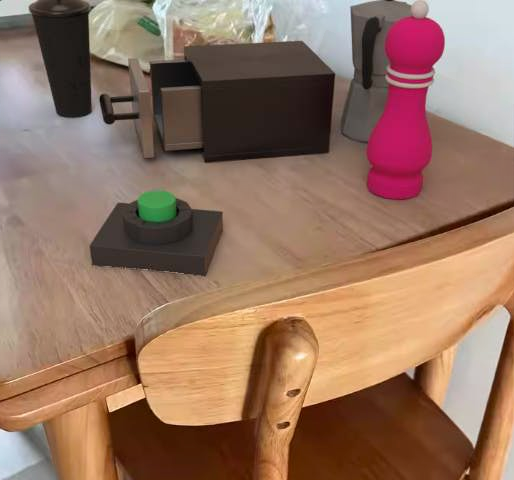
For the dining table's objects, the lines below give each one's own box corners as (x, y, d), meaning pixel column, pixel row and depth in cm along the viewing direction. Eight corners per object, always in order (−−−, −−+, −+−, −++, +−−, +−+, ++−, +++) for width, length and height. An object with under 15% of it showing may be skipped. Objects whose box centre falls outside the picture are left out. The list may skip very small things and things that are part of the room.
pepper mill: (435, 185, 85) (469, -1, 73) (409, 208, 80) (440, 13, 68) (379, 169, 88) (403, -12, 76) (351, 190, 83) (371, 1, 71)
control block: (92, 265, 70) (86, 228, 67) (119, 221, 77) (116, 186, 74) (205, 276, 68) (204, 239, 66) (222, 230, 75) (222, 195, 73)
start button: (134, 222, 69) (132, 205, 68) (144, 204, 72) (143, 188, 71) (171, 225, 69) (170, 208, 68) (180, 208, 72) (179, 191, 70)
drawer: (108, 160, 86) (101, 93, 81) (101, 122, 96) (93, 59, 91) (263, 148, 90) (264, 84, 85) (240, 112, 100) (241, 52, 95)
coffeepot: (353, 109, 104) (367, -31, 93) (418, 119, 101) (441, -23, 90) (318, 148, 93) (330, -6, 82) (391, 161, 90) (413, 4, 79)
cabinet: (204, 162, 89) (202, 81, 83) (186, 121, 99) (183, 46, 93) (328, 153, 92) (335, 73, 86) (298, 113, 102) (302, 40, 96)
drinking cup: (35, 117, 99) (6, -48, 87) (63, 99, 105) (40, -59, 93) (85, 124, 98) (64, -43, 85) (111, 105, 103) (94, -54, 91)
